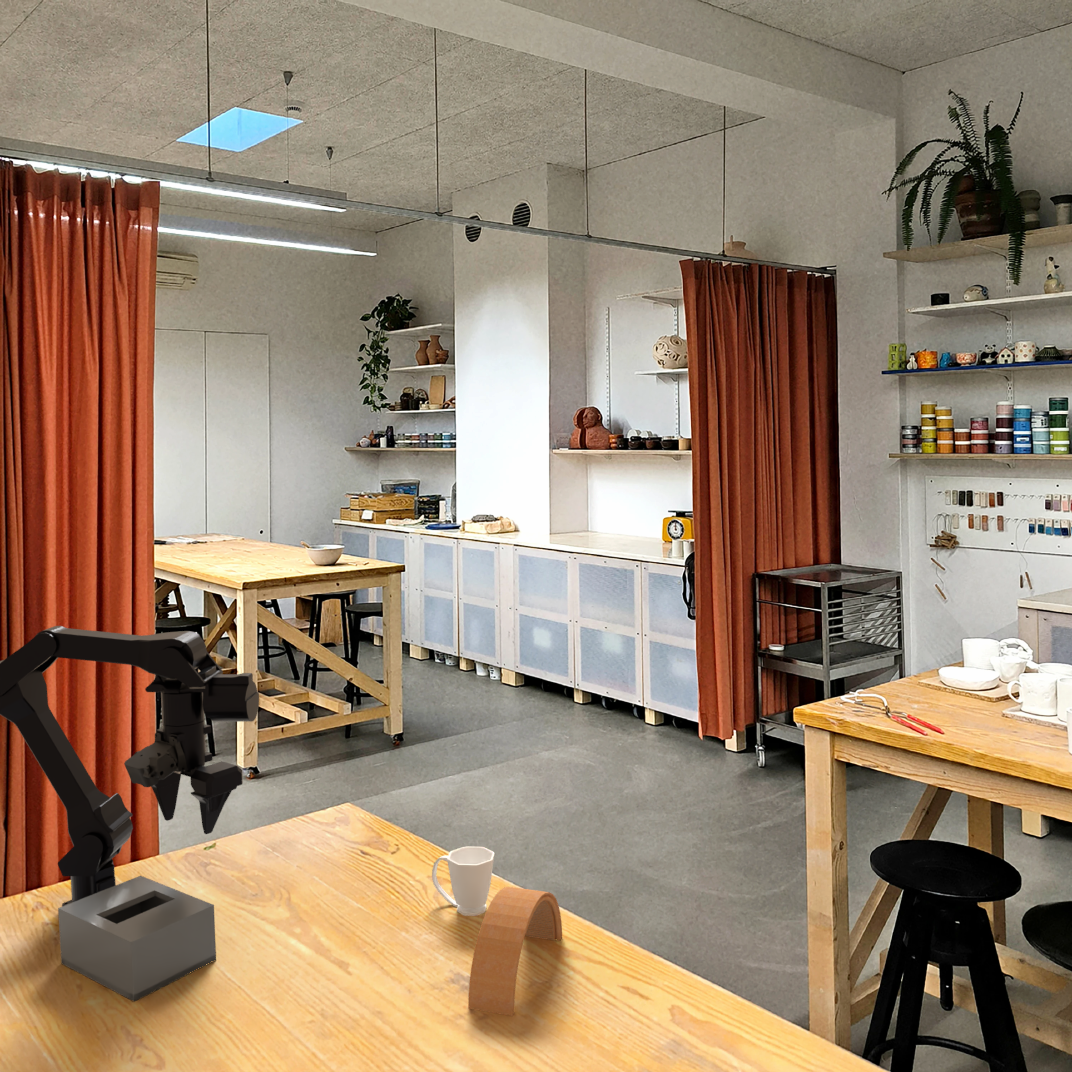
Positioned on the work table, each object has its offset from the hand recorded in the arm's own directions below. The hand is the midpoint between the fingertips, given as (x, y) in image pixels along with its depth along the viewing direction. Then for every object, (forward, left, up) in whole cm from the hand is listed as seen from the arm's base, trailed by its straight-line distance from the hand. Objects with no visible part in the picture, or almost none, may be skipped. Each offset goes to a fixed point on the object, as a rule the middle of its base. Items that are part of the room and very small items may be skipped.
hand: (188, 826), depth 149 cm
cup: (+33, +22, -12) cm, 41 cm away
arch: (+50, +12, -12) cm, 53 cm away
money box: (+8, -14, -12) cm, 20 cm away
